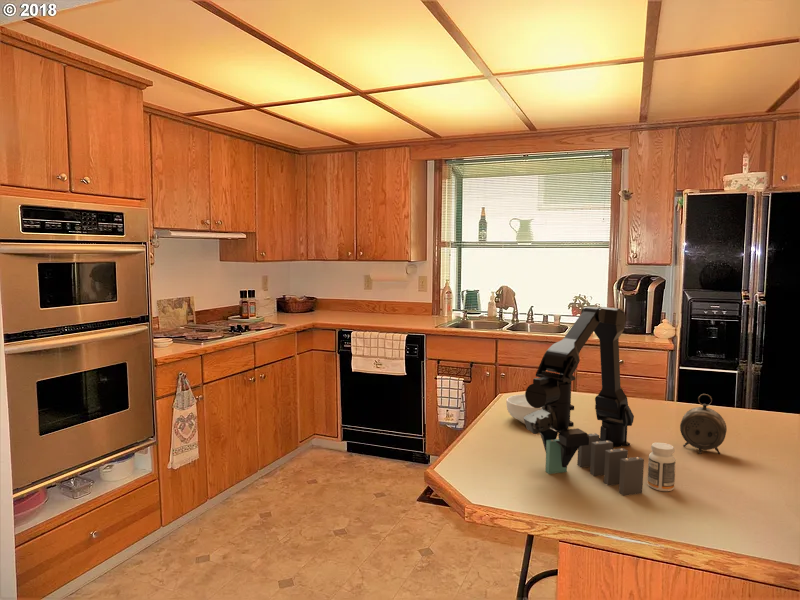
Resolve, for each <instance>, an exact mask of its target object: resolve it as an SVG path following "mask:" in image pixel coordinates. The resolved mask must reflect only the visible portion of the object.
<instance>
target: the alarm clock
mask: <svg viewBox="0 0 800 600" xmlns="http://www.w3.org/2000/svg"><path fill="white" fill-rule="evenodd" d="M702 396H707V397H709V399H710V403H709V404H706V403H701V402H700V399H701V397H702ZM697 400H698V401H697V402H698V403H699V405H702V406H698V407H693V408H690V409H689V410H687V411H686V412H685V413H684V414H683V416H682V419H681V421H680V425H679V430H680V435H681V436H682V438H683V439H684V441H685V443H684V444H683V445H682V447H683V448H686V447H687V446H688V445H690V446H691V447H693V448H695V449H697V450H698V454H699V455H701V454H702V451H703V450H704V451H710V450H711V451H712V450H715V451H716V452H717V454H718V455H721V451H720V450H719V448H718V447H720V446H721V445H722V444H723V442H724V441H725V439H726V434H727V432H728V431H727V423H726V421H725V419H724V417H723V416H722V415H721V414H720V413H719V412H717V411H715V410H714V409H712V408H709V407H708V406H710V405H711V404H712V402H713V398H712V396H711V395H709V394H708V393H707V394H706V393H702V394H700V395H699V396H698V397H697Z"/></svg>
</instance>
